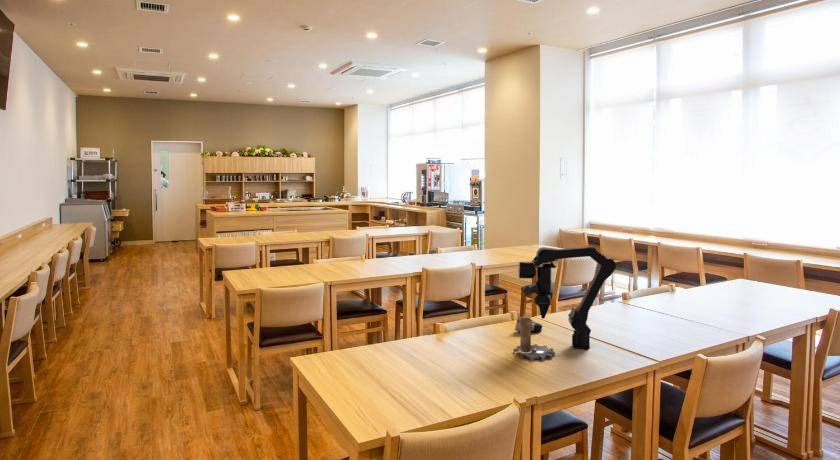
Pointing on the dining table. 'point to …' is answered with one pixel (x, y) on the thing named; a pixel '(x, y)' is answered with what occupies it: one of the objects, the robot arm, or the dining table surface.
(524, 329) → the brown cylinder
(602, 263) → the robot arm
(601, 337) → the dining table surface
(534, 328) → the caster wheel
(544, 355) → the sprocket plate
